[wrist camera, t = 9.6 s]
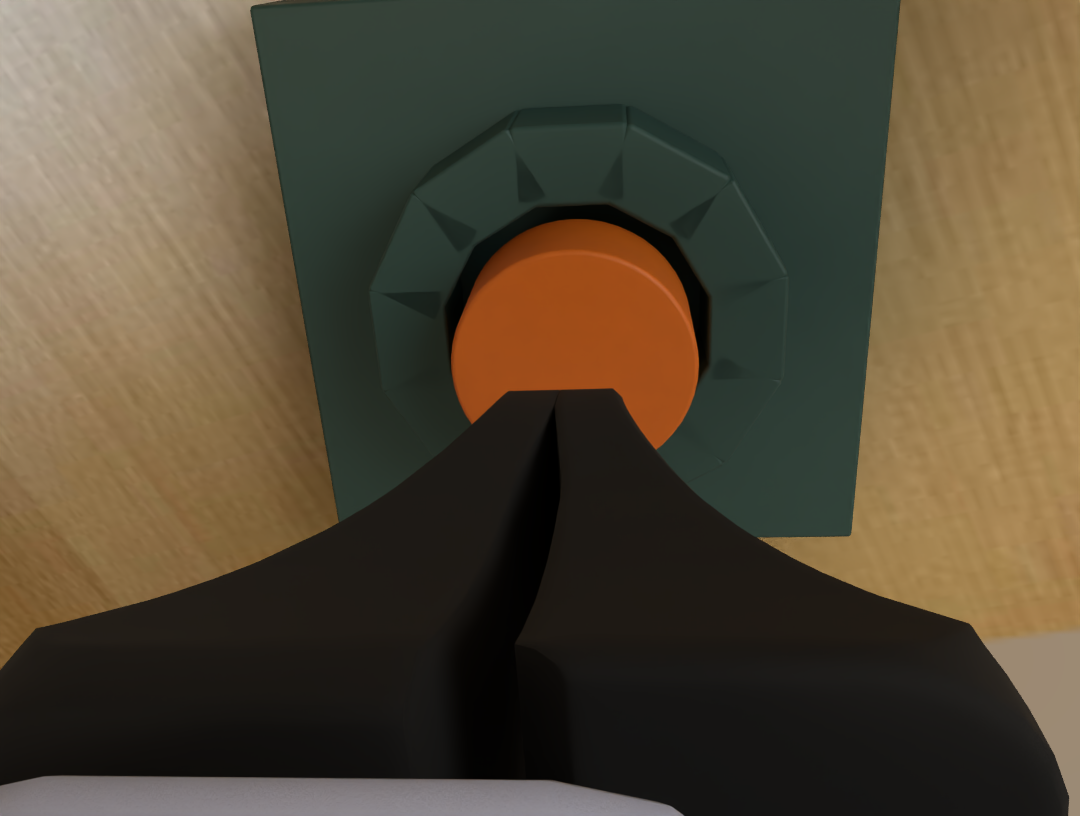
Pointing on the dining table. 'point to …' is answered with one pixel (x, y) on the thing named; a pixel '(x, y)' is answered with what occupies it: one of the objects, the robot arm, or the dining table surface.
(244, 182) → the dining table surface
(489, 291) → the button
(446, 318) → the button base
